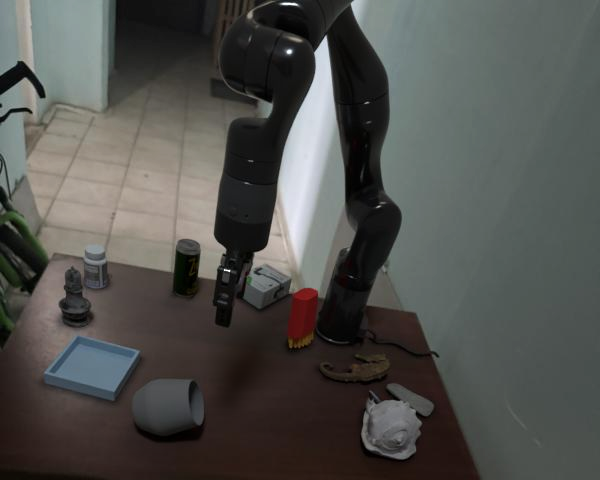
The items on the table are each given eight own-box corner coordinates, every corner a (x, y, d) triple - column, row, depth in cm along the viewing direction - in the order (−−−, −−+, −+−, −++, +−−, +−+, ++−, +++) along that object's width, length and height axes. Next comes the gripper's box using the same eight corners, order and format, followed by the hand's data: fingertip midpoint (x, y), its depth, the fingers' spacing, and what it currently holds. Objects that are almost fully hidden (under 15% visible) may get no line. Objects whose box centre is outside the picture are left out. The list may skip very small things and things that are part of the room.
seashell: (377, 406, 106) (394, 368, 99) (423, 453, 98) (444, 415, 92) (331, 421, 99) (345, 381, 93) (376, 473, 92) (395, 433, 85)
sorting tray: (140, 360, 99) (140, 350, 98) (114, 401, 90) (114, 391, 88) (77, 343, 98) (76, 333, 97) (44, 383, 89) (43, 373, 88)
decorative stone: (390, 383, 112) (381, 394, 108) (392, 378, 111) (383, 389, 108) (434, 408, 109) (426, 420, 106) (436, 404, 108) (428, 415, 105)
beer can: (167, 292, 118) (171, 244, 110) (180, 283, 122) (184, 235, 114) (188, 301, 117) (193, 253, 109) (200, 291, 121) (206, 244, 113)
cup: (154, 411, 92) (208, 404, 91) (143, 450, 85) (201, 443, 84) (133, 371, 86) (191, 362, 85) (119, 409, 79) (181, 400, 78)
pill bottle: (100, 275, 116) (99, 241, 111) (111, 286, 114) (111, 251, 109) (80, 280, 113) (78, 245, 108) (91, 291, 111) (90, 256, 106)
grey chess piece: (96, 315, 106) (94, 262, 98) (84, 331, 101) (81, 277, 94) (67, 308, 105) (63, 254, 98) (54, 323, 101) (48, 269, 93)
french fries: (287, 296, 106) (281, 346, 113) (303, 303, 104) (296, 353, 112) (310, 284, 112) (303, 332, 119) (325, 290, 110) (317, 338, 117)
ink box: (235, 275, 120) (265, 261, 129) (231, 293, 123) (261, 279, 132) (264, 292, 118) (293, 277, 126) (260, 310, 121) (289, 294, 129)
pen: (415, 437, 100) (371, 389, 107) (413, 437, 100) (369, 389, 107) (412, 440, 101) (368, 392, 108) (410, 440, 100) (367, 392, 107)
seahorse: (341, 384, 103) (340, 396, 105) (401, 362, 111) (399, 374, 113) (315, 363, 109) (314, 376, 111) (373, 344, 117) (372, 356, 119)
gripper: (261, 237, 63) (242, 343, 74) (282, 196, 74) (263, 294, 84) (202, 220, 63) (191, 329, 73) (231, 182, 74) (218, 281, 84)
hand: (229, 310), depth 79 cm, fingers open, 8 cm apart
